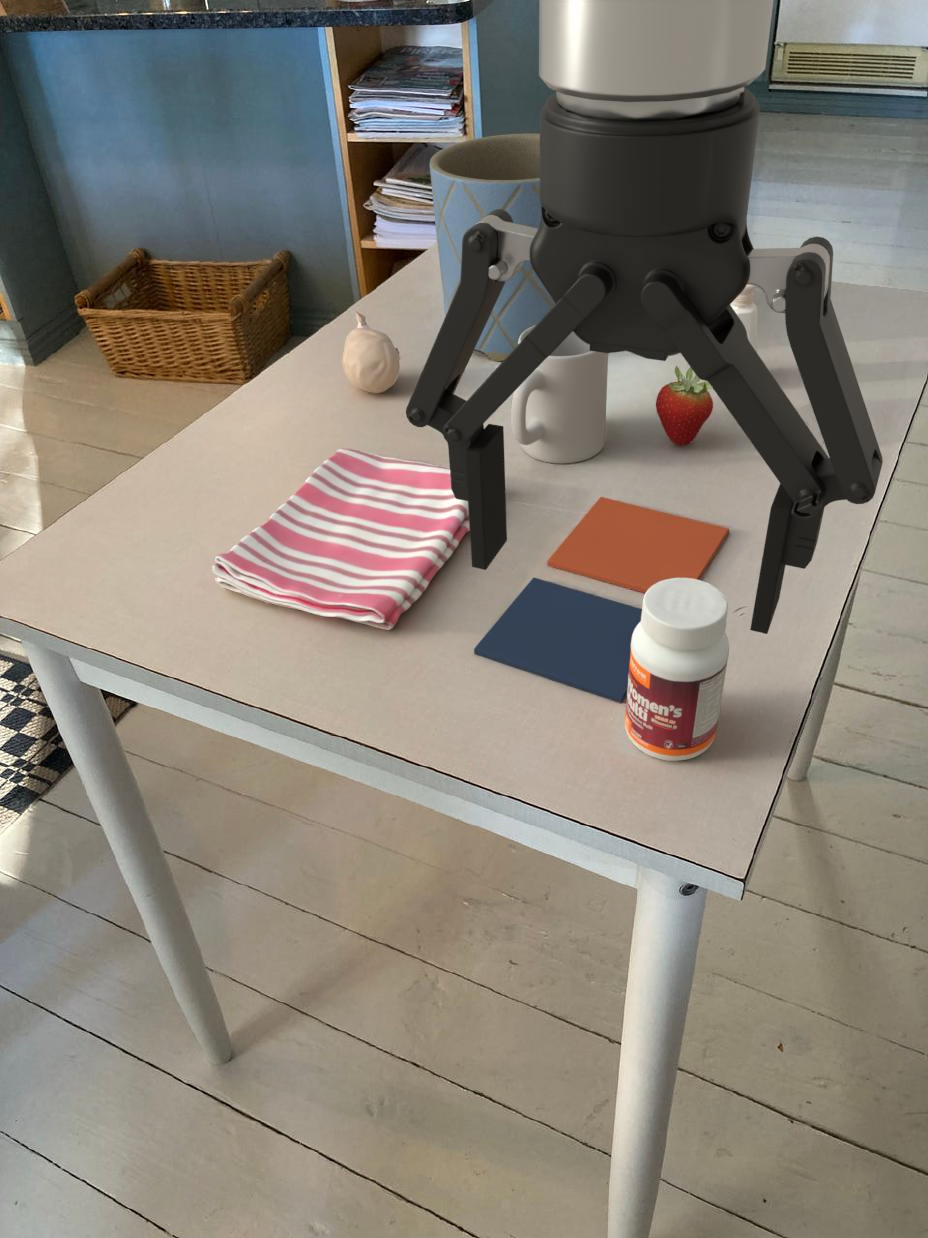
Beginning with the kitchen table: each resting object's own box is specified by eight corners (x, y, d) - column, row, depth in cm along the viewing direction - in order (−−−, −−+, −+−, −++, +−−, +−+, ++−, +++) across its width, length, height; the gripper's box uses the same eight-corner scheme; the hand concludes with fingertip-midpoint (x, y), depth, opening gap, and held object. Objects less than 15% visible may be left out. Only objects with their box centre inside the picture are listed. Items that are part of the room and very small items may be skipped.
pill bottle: (607, 737, 68) (614, 608, 61) (654, 687, 71) (666, 560, 64) (686, 779, 65) (704, 647, 58) (732, 724, 68) (754, 594, 61)
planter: (417, 321, 125) (402, 150, 112) (551, 290, 130) (551, 124, 118) (483, 379, 111) (475, 192, 98) (630, 341, 117) (639, 160, 104)
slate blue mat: (672, 622, 77) (672, 617, 77) (621, 703, 70) (621, 698, 70) (533, 581, 82) (533, 576, 82) (473, 653, 75) (473, 648, 75)
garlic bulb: (407, 375, 113) (400, 307, 108) (399, 401, 108) (391, 331, 103) (350, 375, 114) (341, 307, 109) (339, 401, 109) (329, 332, 104)
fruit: (707, 460, 95) (716, 383, 90) (651, 457, 96) (656, 380, 91) (708, 433, 99) (717, 358, 94) (654, 431, 100) (659, 356, 95)
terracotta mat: (728, 533, 86) (729, 528, 85) (683, 604, 79) (684, 599, 78) (600, 501, 91) (600, 496, 90) (546, 565, 84) (547, 560, 83)
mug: (550, 414, 104) (550, 312, 97) (621, 435, 100) (626, 331, 93) (481, 464, 97) (476, 358, 90) (554, 489, 93) (554, 380, 86)
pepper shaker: (766, 385, 106) (781, 283, 99) (725, 397, 105) (737, 295, 98) (734, 366, 110) (746, 267, 103) (693, 378, 108) (703, 278, 102)
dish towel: (210, 596, 83) (200, 562, 81) (347, 460, 99) (342, 428, 97) (391, 643, 77) (386, 607, 75) (505, 490, 93) (504, 457, 91)
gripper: (1056, 77, 32) (906, 593, 46) (380, 56, 41) (421, 494, 54) (1056, 137, 27) (887, 699, 41) (282, 99, 36) (354, 571, 49)
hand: (620, 583), depth 48 cm, fingers open, 13 cm apart
